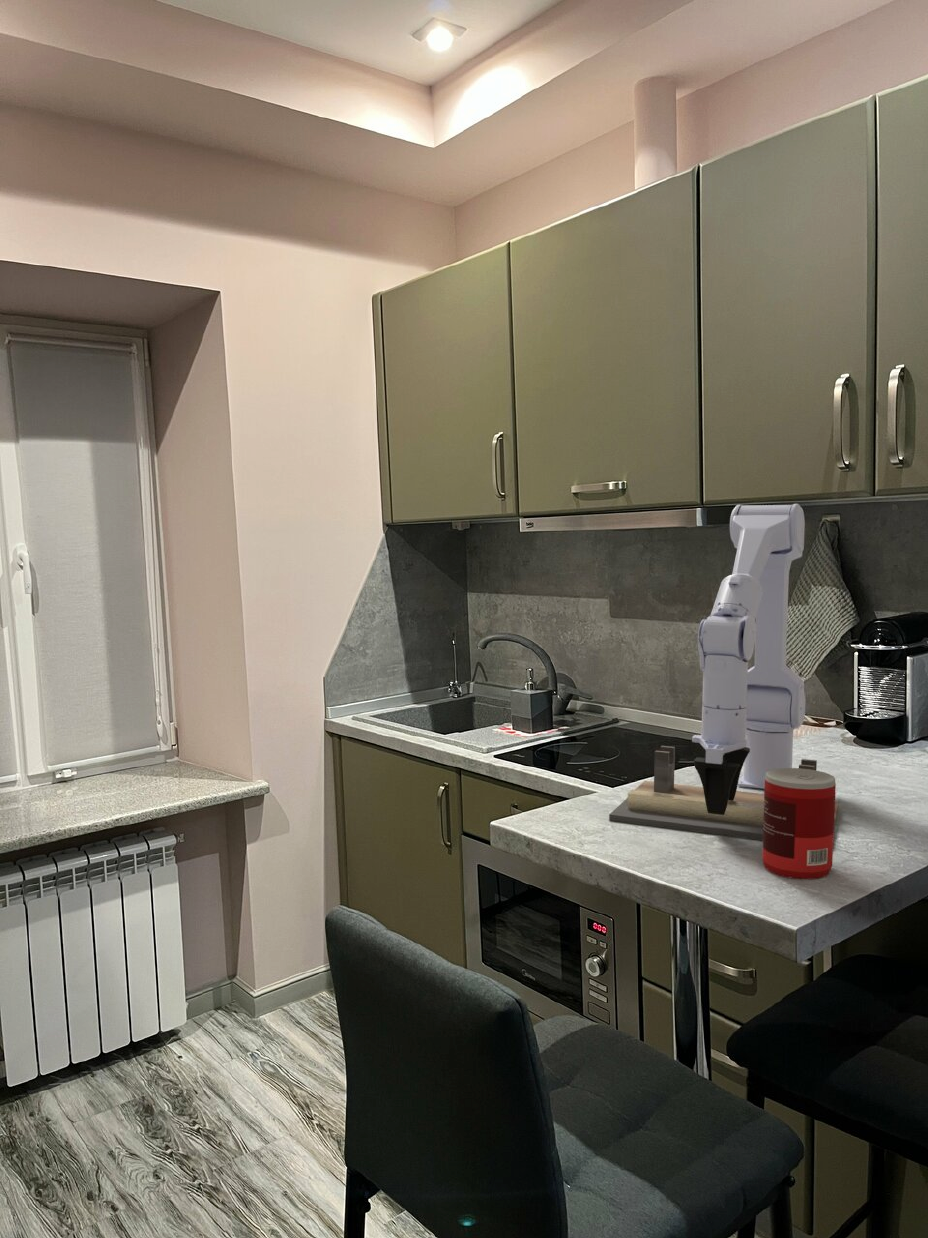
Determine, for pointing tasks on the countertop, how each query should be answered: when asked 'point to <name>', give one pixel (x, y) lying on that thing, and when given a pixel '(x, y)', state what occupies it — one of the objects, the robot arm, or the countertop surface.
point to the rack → (666, 785)
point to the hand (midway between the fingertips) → (721, 806)
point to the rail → (694, 807)
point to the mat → (686, 822)
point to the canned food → (798, 822)
